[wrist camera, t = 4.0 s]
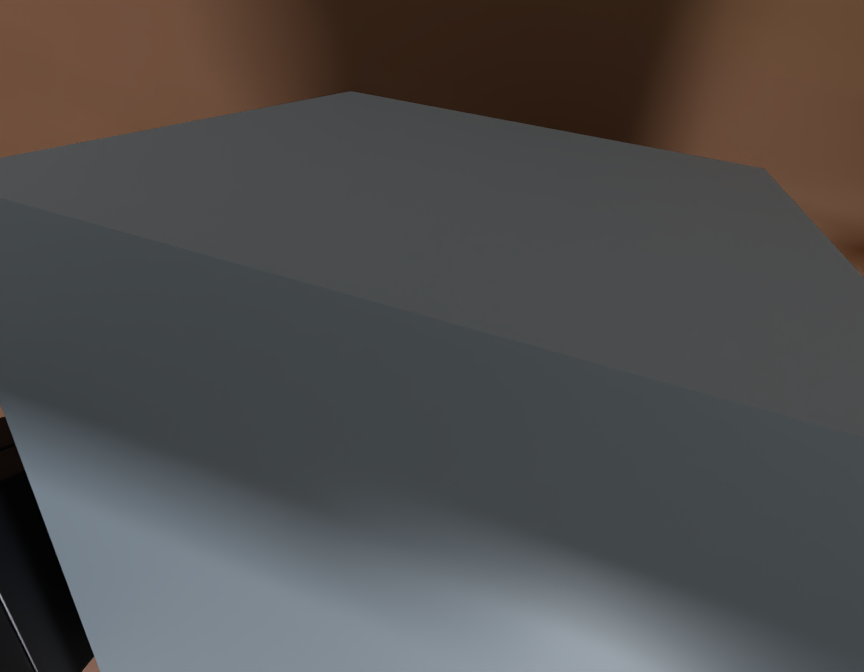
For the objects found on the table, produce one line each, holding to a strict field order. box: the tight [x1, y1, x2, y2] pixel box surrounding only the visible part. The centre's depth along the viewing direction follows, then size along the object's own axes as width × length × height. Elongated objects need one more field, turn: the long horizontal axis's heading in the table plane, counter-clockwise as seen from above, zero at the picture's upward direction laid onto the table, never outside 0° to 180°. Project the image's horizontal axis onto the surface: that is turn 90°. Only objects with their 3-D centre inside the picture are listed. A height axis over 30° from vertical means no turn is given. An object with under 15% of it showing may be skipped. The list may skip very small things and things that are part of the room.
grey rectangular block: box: [0, 91, 864, 672], centre depth 8 cm, size 9×6×6 cm
